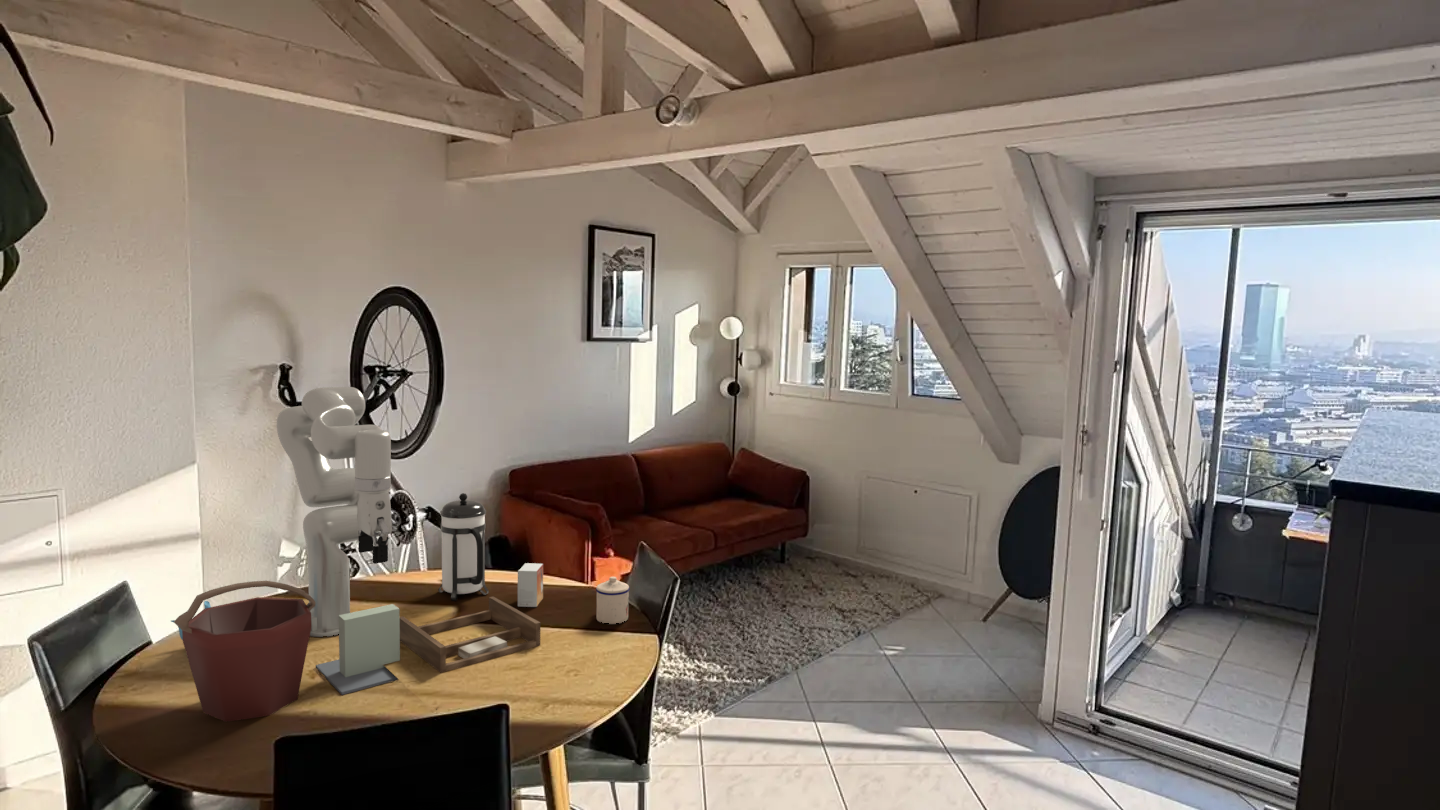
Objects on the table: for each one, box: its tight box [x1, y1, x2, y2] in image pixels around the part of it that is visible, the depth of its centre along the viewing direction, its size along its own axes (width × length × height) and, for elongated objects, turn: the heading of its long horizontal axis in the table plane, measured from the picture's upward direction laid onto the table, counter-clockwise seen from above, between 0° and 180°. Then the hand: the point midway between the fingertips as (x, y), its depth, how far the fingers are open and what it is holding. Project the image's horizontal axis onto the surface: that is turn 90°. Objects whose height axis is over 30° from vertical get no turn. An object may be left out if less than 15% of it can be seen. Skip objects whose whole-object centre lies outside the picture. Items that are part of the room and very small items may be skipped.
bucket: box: [173, 580, 316, 723], centre depth 166 cm, size 24×22×25 cm
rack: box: [400, 596, 541, 673], centre depth 197 cm, size 25×25×7 cm
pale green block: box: [338, 603, 401, 677], centre depth 182 cm, size 12×4×13 cm, turn 133°
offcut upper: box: [457, 636, 508, 659], centre depth 191 cm, size 10×5×2 cm, turn 139°
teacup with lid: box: [595, 576, 631, 625], centre depth 220 cm, size 12×9×12 cm
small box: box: [517, 562, 544, 608], centre depth 230 cm, size 8×6×10 cm
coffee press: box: [437, 493, 490, 602], centre depth 235 cm, size 17×16×30 cm
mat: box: [315, 659, 400, 696], centre depth 183 cm, size 18×18×1 cm
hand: (373, 556), depth 185 cm, fingers open, 9 cm apart
